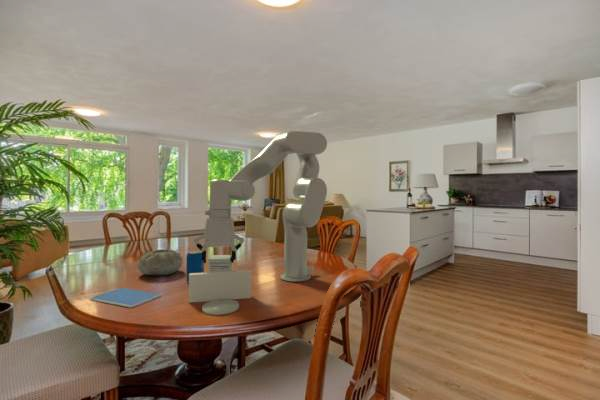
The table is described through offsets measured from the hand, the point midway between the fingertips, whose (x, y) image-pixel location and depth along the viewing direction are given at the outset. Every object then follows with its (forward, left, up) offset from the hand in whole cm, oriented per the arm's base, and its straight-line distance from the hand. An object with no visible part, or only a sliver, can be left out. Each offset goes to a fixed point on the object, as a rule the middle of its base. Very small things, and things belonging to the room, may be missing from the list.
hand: (218, 262), depth 110 cm
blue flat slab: (+25, -16, -12) cm, 32 cm away
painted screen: (+3, +7, -11) cm, 13 cm away
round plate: (+7, +14, -11) cm, 19 cm away
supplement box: (-1, 0, -11) cm, 11 cm away
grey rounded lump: (+5, -39, -11) cm, 41 cm away
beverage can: (0, -17, -11) cm, 20 cm away
